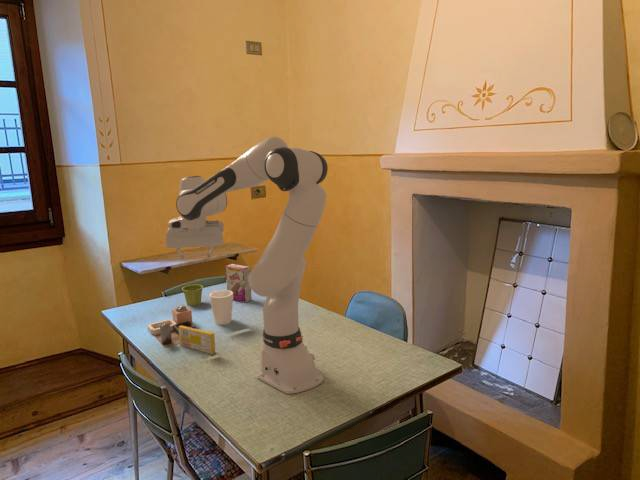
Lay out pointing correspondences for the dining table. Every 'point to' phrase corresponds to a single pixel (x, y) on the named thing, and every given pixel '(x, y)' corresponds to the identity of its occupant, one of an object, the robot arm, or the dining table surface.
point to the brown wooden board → (175, 333)
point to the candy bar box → (239, 282)
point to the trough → (157, 324)
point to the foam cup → (222, 306)
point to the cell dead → (181, 309)
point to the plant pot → (193, 294)
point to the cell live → (165, 333)
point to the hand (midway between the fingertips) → (195, 258)
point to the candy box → (197, 339)
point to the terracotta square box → (182, 316)
